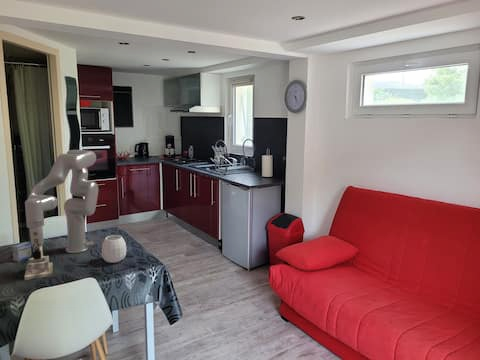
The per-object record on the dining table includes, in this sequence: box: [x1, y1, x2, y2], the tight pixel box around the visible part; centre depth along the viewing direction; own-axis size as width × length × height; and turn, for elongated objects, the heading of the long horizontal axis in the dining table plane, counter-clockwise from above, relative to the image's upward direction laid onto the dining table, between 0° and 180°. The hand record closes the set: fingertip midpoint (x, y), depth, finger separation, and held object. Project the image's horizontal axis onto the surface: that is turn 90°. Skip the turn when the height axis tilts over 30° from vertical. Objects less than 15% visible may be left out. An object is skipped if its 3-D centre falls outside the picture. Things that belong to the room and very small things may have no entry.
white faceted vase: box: [101, 234, 127, 264], centre depth 198 cm, size 13×13×14 cm
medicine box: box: [11, 241, 33, 263], centre depth 197 cm, size 8×4×9 cm, turn 160°
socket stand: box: [24, 255, 54, 281], centre depth 182 cm, size 12×14×6 cm
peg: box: [32, 246, 44, 263], centre depth 181 cm, size 4×4×14 cm
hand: (37, 255), depth 180 cm, fingers open, 9 cm apart
